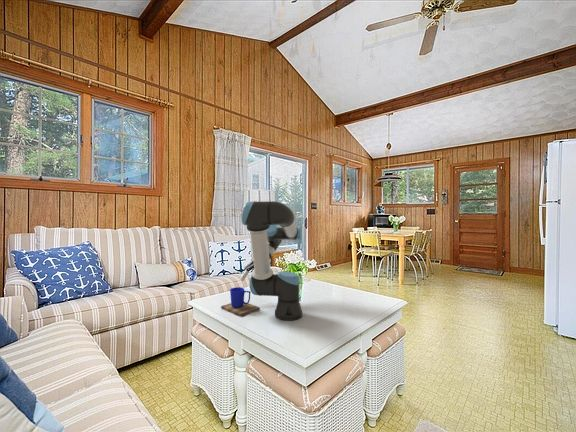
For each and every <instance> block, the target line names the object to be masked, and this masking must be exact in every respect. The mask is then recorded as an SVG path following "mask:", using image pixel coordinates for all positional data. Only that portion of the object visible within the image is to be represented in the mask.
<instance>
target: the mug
mask: <svg viewBox="0 0 576 432" xmlns="http://www.w3.org/2000/svg"><path fill="white" fill-rule="evenodd" d="M229 292H230V303H231V305H232V307H235V308H239V307H242V306H243V303H244V304H248V303H249V304H250V300H251V294H252V292H251V290H245V288H244V287H241V286H240V287H232V288H230V290H229ZM245 293H248V299H247V302H246V301H245ZM245 302H246V303H245Z"/></svg>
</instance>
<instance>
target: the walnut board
mask: <svg viewBox="0 0 576 432" xmlns="http://www.w3.org/2000/svg"><path fill="white" fill-rule="evenodd" d="M244 302H245V303H247V302H246V301H244ZM220 309H221V310H224V311H225V312H228V313H230V314H233V315H236V316H238V317H243V316H246V315H249V314H251V313H255V312H257V311H260V306H258V305H254V304H251V303H250V302H249V303H248V304H244V303H243V306H242V307H239V308H235V307H232V305H231V302H230V303H228V304H223V305H221V306H220Z"/></svg>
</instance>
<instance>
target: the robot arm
mask: <svg viewBox="0 0 576 432" xmlns="http://www.w3.org/2000/svg"><path fill="white" fill-rule="evenodd" d="M241 224H242V225H243V226H246V230H247V231H248V232H250V241H251V242H250V243H251V250H252V258H253V259H252V260H251V261H250V262H249V263H248V264H246V265H245V266H244V267H243V269H244V272H243V273H242V274H241V276H240V277H239V278H240V280H241V281H242V282H244V281H245V280H246V278H247V276H248V275H249V273H250V272H251V271H252V270H253V271H252V272H251V274H250V276H249V279H248V281H249V285H248V286H249V291H250V292H251V294H252V295H254V296H260V297H264V296H265V297H266V296H267V297H277V303H276V306H275V310H274V316H275V318H276V319H278V320H281V321H296V320H300V319H302V317H303V310H302V306H301V303H300V277H299V275H298V274H296V273H295V272H292V271H286V270H285V271H284V270H283V271H278V273H277V274H275V273H274V270H273V269H272V268H271V264H272V261H271V259H272V257H273V255H275V252H276V251H277V249H278V247H280V245H281V244H282V241H283V240H287V241H288V240H289V241H292V240H293V241H298V240H301V239H302V228H301V227H297V226H296V222H295V214H294V212H293V210H292V209H291V208H290V207H289V206H287V205H286V204H284V203H282V202H279V201H269V200H268V201H264V200H263V201H255V200H254V201H246V202H245V203H244V205H243V207H242V211H241ZM278 226H280V227H278Z"/></svg>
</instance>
